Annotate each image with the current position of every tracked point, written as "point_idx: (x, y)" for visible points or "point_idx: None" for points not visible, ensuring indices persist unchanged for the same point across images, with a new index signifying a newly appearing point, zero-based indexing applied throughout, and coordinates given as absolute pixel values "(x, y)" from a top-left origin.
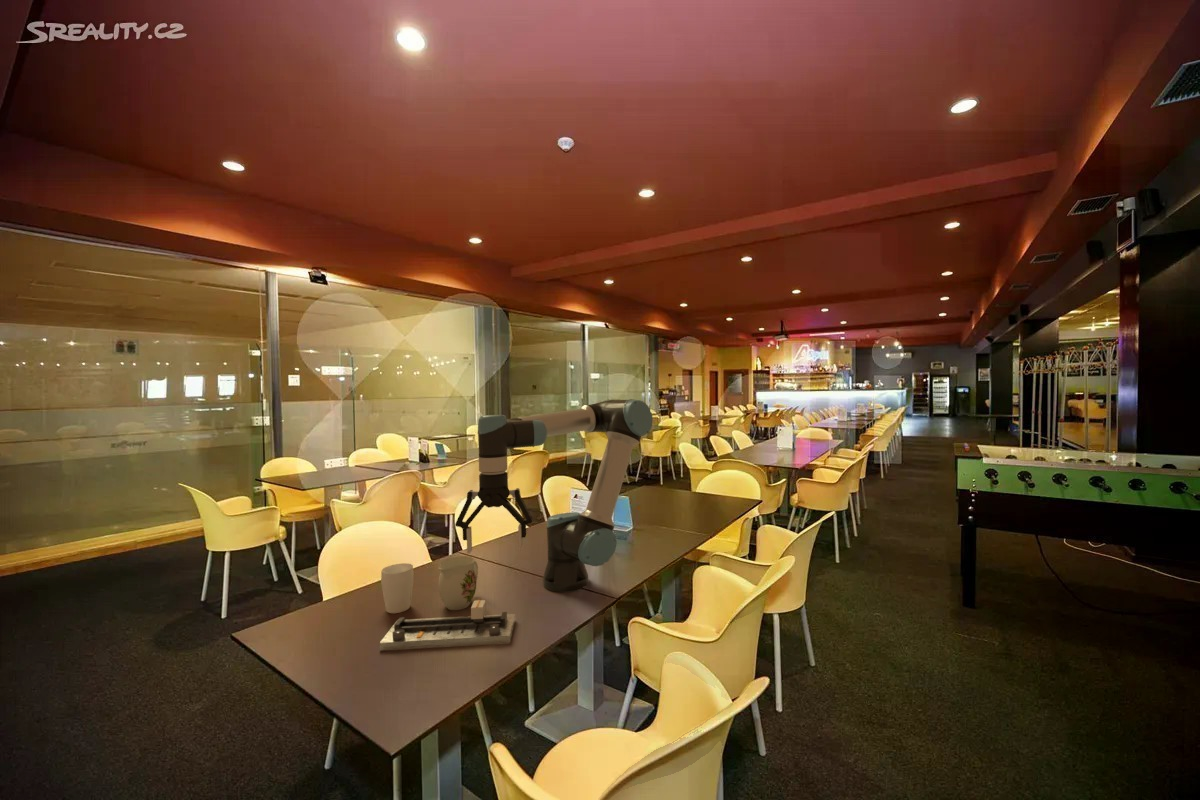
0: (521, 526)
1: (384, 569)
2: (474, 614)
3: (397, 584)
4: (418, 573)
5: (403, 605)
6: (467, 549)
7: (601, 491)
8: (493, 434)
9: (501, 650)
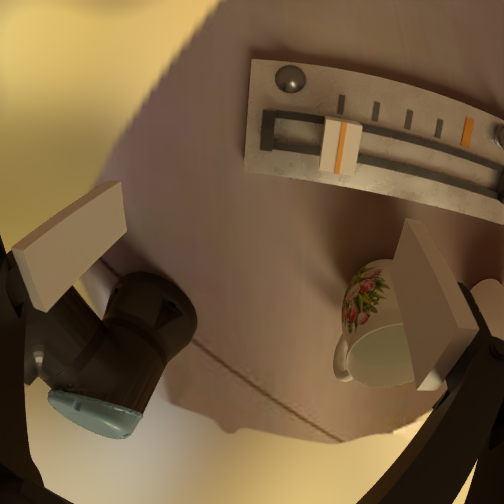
0: (17, 261)
1: None
2: (349, 121)
3: None
4: (422, 404)
5: (483, 288)
6: (426, 232)
7: None
8: None
9: (273, 34)
